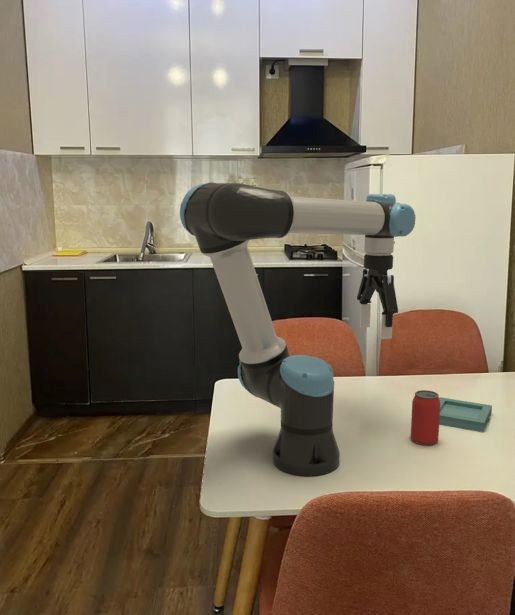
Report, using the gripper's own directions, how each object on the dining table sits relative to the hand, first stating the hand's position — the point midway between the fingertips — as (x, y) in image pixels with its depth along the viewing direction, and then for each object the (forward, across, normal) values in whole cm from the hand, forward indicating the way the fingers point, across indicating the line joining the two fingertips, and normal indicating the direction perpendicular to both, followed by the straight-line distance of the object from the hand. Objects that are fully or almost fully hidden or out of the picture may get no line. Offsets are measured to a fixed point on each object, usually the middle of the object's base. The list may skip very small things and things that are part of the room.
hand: (375, 332), depth 163 cm
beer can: (+23, -20, -5) cm, 31 cm away
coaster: (+22, -10, -21) cm, 32 cm away
